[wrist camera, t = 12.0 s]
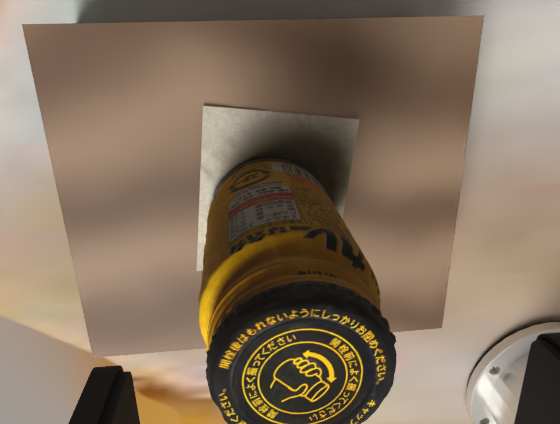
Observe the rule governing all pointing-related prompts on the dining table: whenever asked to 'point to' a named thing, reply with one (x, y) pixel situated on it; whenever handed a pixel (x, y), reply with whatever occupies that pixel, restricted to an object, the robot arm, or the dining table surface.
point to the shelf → (252, 96)
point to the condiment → (286, 273)
